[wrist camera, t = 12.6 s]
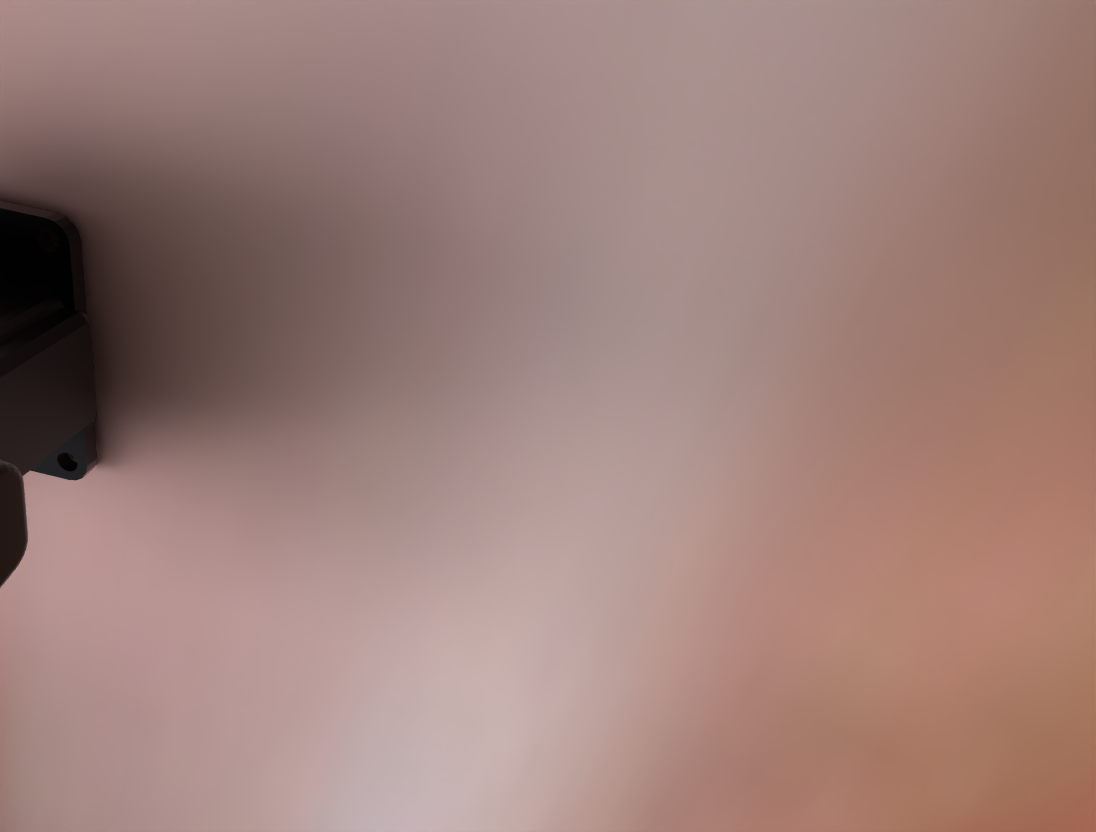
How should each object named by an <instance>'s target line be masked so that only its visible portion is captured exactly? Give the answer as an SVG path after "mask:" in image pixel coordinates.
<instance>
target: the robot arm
mask: <svg viewBox="0 0 1096 832" xmlns="http://www.w3.org/2000/svg"><path fill="white" fill-rule="evenodd" d="M48 230H50V231H52V232H53V233H54V234H55V235H56V236H57V238H58V241H59V246H58V245H55V244H54V243H53V242H52V241H51V239H50V237H49V234H48ZM96 415H97V414H96V399H95V385H94V371H93V357H92V342H91V328H90V323H89V321H88V319H87V315H86V301H85V287H84V273H83V259H82V245H81V238H80V234H79V231H78V229H77V227H76V226H75V224H74V223H73V222H72V221H71V220H70V219H69V218H67V217H66V216H64V215H62V214H59V213H56V212H52V211H47V210H43V209H38V208H34V207H29V206H24V205H20V204H15V203H11V202H6V201H2V200H0V588H1V586H2V585H3V584H4V583H5V582H6V580H7V579H8V578H9V577H10V575H11V574H12V573H13V572H14V570H15V569H16V568H17V566H18V565H19V563H20V562H21V560H22V558H23V556H24V553H25V551H26V547H27V542H28V530H27V518H26V505H25V492H24V481H23V475H25V474H26V473H27V472H29V471H30V470H31V471H35V472H39V473H43V474H47V475H51V476H55V477H60V478H64V479H68V480H78V479H81V478H83V477H84V476H85V475H86V474H88V473H89V472H90V471H91V470H92V469H93V468H94V467H95V465H96V461H97V454H96V440H95V426H94V420H95V419H96ZM68 454H70V455H72V456H73V457H74V458H75V459H76V462H75V461H73V460H72V459H71V458H70V457H69V455H68Z"/></svg>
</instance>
